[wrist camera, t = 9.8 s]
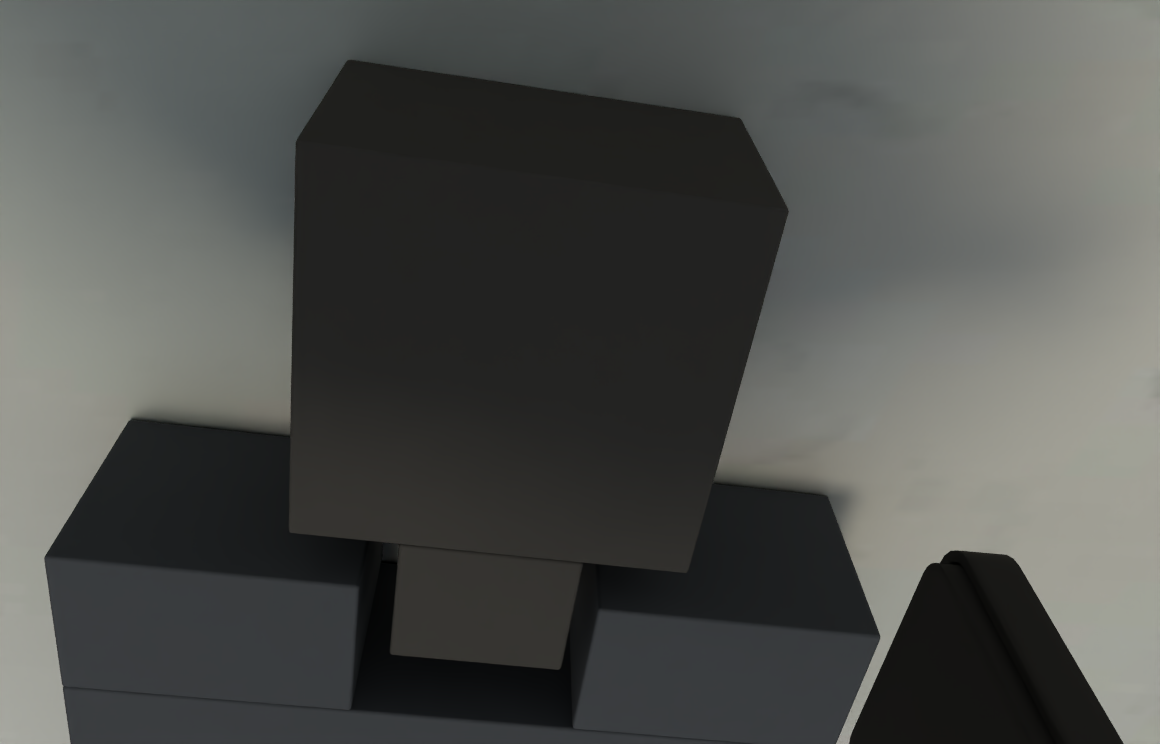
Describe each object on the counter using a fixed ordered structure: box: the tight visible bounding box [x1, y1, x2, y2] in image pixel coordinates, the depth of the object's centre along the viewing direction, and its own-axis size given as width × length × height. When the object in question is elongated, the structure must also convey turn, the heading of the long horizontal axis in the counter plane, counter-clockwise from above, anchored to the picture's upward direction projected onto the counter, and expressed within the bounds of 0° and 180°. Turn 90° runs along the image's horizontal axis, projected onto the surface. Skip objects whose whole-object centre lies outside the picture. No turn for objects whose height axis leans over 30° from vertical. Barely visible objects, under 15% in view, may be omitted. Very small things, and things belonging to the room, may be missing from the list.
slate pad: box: [45, 420, 880, 744], centre depth 22 cm, size 12×14×4 cm
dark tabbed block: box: [289, 60, 789, 670], centre depth 17 cm, size 9×6×4 cm
